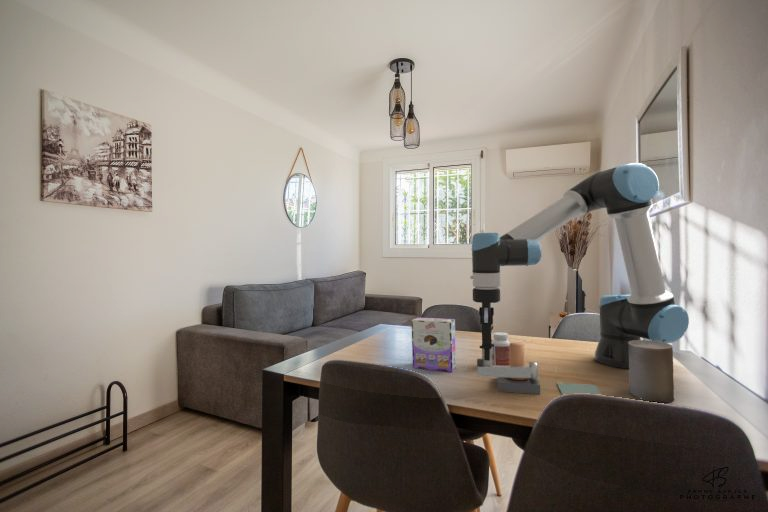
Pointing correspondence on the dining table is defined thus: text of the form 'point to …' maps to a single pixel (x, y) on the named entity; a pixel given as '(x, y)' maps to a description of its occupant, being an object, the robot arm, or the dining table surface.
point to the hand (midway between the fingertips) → (487, 370)
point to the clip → (508, 371)
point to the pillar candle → (651, 370)
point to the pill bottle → (501, 349)
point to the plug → (517, 357)
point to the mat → (577, 388)
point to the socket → (517, 386)
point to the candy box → (434, 344)
